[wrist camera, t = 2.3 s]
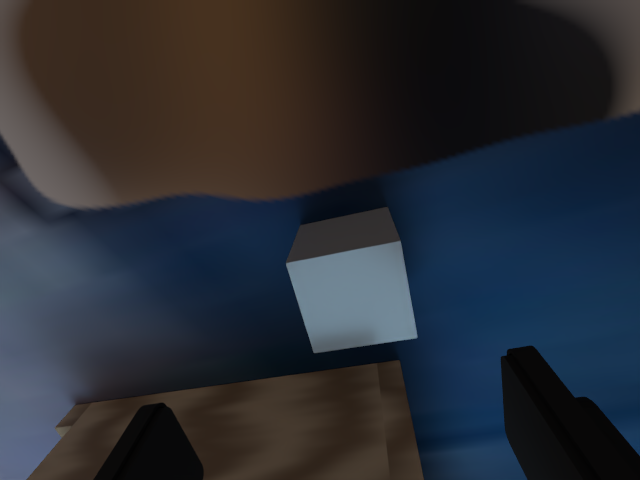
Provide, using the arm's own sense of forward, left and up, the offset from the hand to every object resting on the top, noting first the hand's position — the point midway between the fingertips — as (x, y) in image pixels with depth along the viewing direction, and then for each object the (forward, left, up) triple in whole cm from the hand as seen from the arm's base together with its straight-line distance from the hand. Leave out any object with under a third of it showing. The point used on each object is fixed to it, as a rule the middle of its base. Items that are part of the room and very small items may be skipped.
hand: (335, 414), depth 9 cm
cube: (-1, 0, -11) cm, 11 cm away
